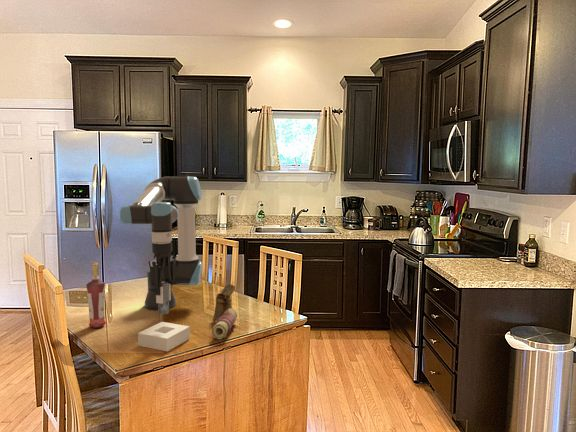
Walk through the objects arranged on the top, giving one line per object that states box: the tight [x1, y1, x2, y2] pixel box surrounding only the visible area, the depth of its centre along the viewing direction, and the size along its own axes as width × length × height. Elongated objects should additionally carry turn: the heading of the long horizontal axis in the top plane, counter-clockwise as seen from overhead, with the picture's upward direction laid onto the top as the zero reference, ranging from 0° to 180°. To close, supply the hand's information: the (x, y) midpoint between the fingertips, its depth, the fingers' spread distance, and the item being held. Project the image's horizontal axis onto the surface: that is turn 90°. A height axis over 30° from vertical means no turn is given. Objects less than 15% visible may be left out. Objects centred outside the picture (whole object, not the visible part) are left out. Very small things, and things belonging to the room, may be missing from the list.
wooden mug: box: [212, 284, 236, 321], centre depth 197 cm, size 9×14×18 cm, turn 29°
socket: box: [137, 321, 191, 352], centre depth 171 cm, size 14×14×5 cm
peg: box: [157, 282, 170, 315], centre depth 170 cm, size 4×4×12 cm
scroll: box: [211, 308, 238, 340], centre depth 183 cm, size 8×8×20 cm
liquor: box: [86, 262, 107, 329], centre depth 187 cm, size 7×7×28 cm
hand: (163, 301), depth 170 cm, fingers closed on peg, 4 cm apart
